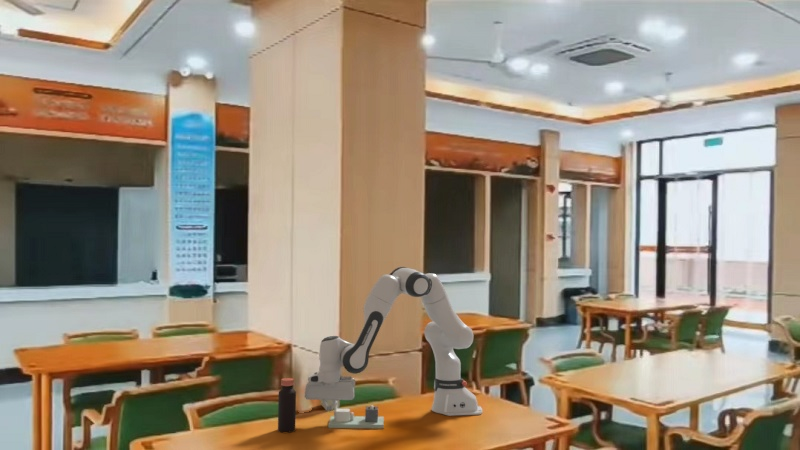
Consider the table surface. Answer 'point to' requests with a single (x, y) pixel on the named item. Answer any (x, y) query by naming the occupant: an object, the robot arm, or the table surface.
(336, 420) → the cover
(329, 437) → the table surface
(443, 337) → the robot arm
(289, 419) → the bottle
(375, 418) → the collar
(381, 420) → the base
